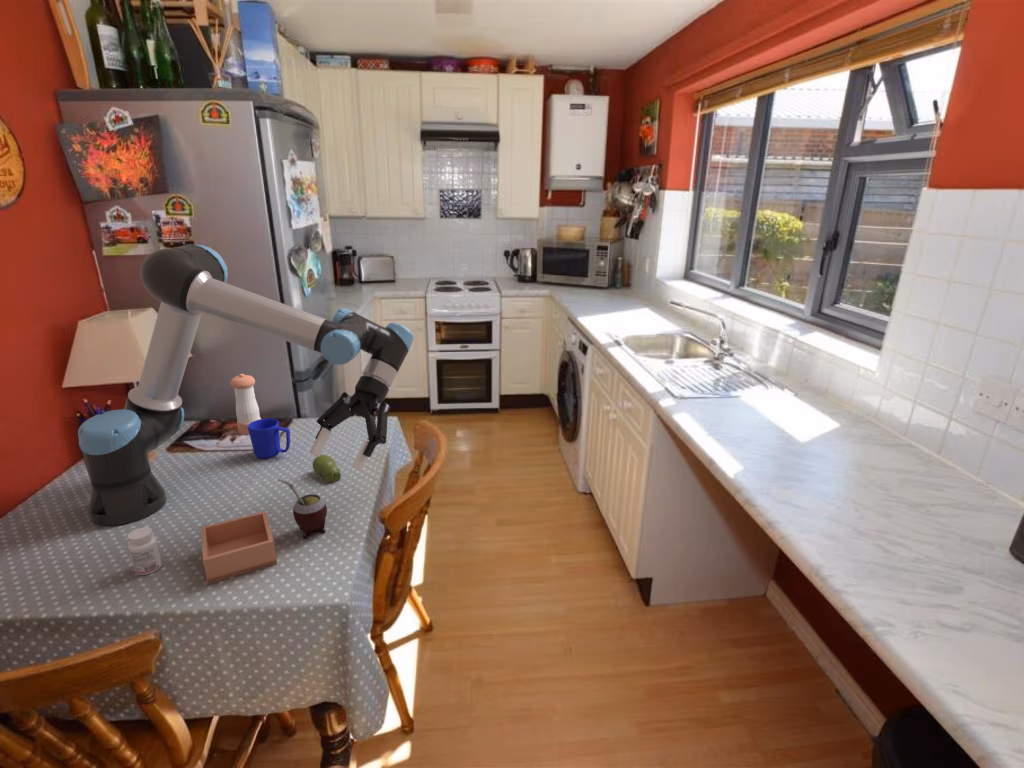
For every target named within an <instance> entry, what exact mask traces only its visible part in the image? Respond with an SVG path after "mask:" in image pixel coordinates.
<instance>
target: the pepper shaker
mask: <svg viewBox="0 0 1024 768" xmlns="http://www.w3.org/2000/svg"><path fill="white" fill-rule="evenodd" d="M255 384H256V380H255V377H254V376H252V375H248V374H244V373H239V374H238V375H236V376H234V377H233V378H231V381H230V384H229V385H230V387H232V388H233V389H234V390H233V391H234V397H235V414H236V419H237V421H236V426H237V427H236V429H237V432H238V434H240V435H249V431H248V425H249V424H250V423H251V422H253V421H256V420H260V419H262V417H261V415H260V408H259V405H258V401H257V399H256V395H255V388H254V386H255Z"/></svg>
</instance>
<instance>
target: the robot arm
mask: <svg viewBox="0 0 1024 768" xmlns="http://www.w3.org/2000/svg"><path fill="white" fill-rule="evenodd" d="M139 271H140V272H139V273H140V275H139V277H140V279H141V280H140V281H141V283H142V286H143V287H144V289H145V291H146V292H147V293H148V294H149V295H150V296H151V297H153V298H155V300H157V301H159V302H160V305H159V308H158V312H157V315H156V320H155V322H154V327H153V331H152V335H151V337H150V338H151V339H150V341H149V345H148V349H147V353H146V356H145V359H144V364H143V367H142V371H141V375H140V379H139V381H138V385H137V386H136V387H134V388H132V389H130V390H129V391H128V393H127V397H126V401H125V404H124V407H123V409H113V410H108V411H104V412H103V413H102V414H95V415H93V416H92V417H90V418H88V419H87V420H85V421H84V422H82V423H81V424H80V426H79V428H78V430H77V436H78V437H77V438H78V446H79V448H80V450H81V453H82V458H83V459H84V463H85V468H86V471H87V474H88V478H89V480H90V485H91V493H90V499H89V505H88V512H89V513H88V514H89V516H90V519H91V522H93V524H96V525H99V526H104V527H105V526H106V527H107V526H109V527H110V526H119V525H125V524H129V523H134V522H136V521H139V520H143V519H145V518H146V517H149V516H151V515H153V514H155V513H156V512H158V511H159V510H160V509H161V508H163V507H164V505H165V504H166V502H167V495H166V491H165V489H164V487H163V486H162V485H161V483H160V482H159V480H158V479H157V478H156V476H155V475H154V474H153V471H152V468H151V464H150V460H149V454H150V453H151V452H152V451H154V450H155V449H156V448H158V446H161V445H162V444H163V443H165V441H166V440H169V439H170V438H172V437H173V436H174V435H176V433H177V432H178V431H179V429H180V428H181V426H182V425H183V423H184V420H185V410H184V408H183V407H182V404H183V399H182V397H181V396H180V395H179V391H180V388H181V384H182V381H183V377H184V375H185V370H186V367H187V365H188V361H189V358H190V355H191V351H192V349H193V345H194V341H195V339H196V335H197V331H198V328H199V324H200V322H201V318H202V315H203V313H204V314H208V315H211V316H213V317H215V318H219V319H221V320H225V321H227V322H230V323H234V324H236V325H238V326H242V327H245V328H248V329H250V330H253V331H256V332H259V333H263V334H264V335H268V336H271V337H273V338H276V339H279V340H283V341H285V342H288V343H291V344H294V345H296V346H300V347H303V348H306V349H308V350H312V351H314V352H317V353H320V354H321V355H322V357H324V360H326V361H327V362H328V363H330V364H332V365H338V366H339V365H340V366H342V365H345V364H348V363H349V362H351V361H352V360H354V359H355V358H357V356H358V354H359V353H360V351H362V352H366V353H367V354H369V355H371V356H370V358H369V360H368V362H367V364H366V365H365V367H364V369H363V371H362V375H361V376H360V377H359V378H358V381H357V383H356V385H355V387H354V394H352V395H350V394H348V393H347V392H346V391H344V392H342V393H341V395H340V397H339V398H338V400H336V402H334V403H333V404H332V405H331V406H330V407H329V408H328V409H327V410H326V411H325V412H324V413H322V415H320V417H318V419H316V423H317V424H319V426H320V428H319V430H318V432H317V434H316V436H315V441H314V443H313V445H312V446H311V448H310V450H309V453H310V454H312V455H314V456H316V457H319V456H320V455H322V452H323V450H324V448H325V446H326V445H327V442H328V440H329V439H330V437H331V435H332V433H333V432H332V429H334V428H335V427H337V426H338V425H340V424H341V423H343V422H345V421H346V420H347V419H349V418H351V417H355V416H356V417H359V418H360V417H362V418H363V419H364V420H365V427H366V431H367V439H364V441H363V443H362V445H361V447H360V449H359V451H358V453H357V456H356V457H355V459H354V461H353V463H352V465H351V467H352V468H355V470H358V471H360V472H363V468H364V466H365V464H366V462H367V461H368V458H371V456H372V455H373V453H374V450H375V448H376V447H377V445H385V444H387V433H388V419H389V418H388V416H389V412H390V410H391V406H390V405H389V404H388V403H386V402H385V399H386V397H387V395H388V392H389V391H390V390H389V388H390V387H392V385H393V382H394V381H395V378H396V377H397V374H398V372H399V371H400V369H401V367H402V364H403V363H404V360H405V359H406V357H407V355H408V353H409V351H410V348H411V347H412V344H413V341H414V334H413V332H412V331H411V329H409V328H408V327H406V326H404V325H403V324H401V323H400V324H399V323H397V322H389V323H388V324H387V325H386V326H385V327H384V326H382V325H379V324H378V323H376V322H374V321H372V320H370V319H368V318H366V317H364V316H362V315H360V314H358V312H355V311H354V310H353V311H352V310H350V309H348V308H344V307H340V308H339V309H338V310H337V311H336V313H335V314H334V316H333V317H332V319H331V320H329V319H326V318H324V317H321V316H318V315H315V314H312V313H310V312H307V311H304V310H301V309H298V308H296V307H293V306H291V305H288V304H286V303H283V302H280V301H276V300H274V299H271V298H268V297H265V296H263V295H260V294H257V293H254V292H251V291H248V290H246V289H244V288H241V287H238V286H235V285H232V284H230V283H227V280H228V278H229V277H228V276H229V272H228V267H227V264H226V262H225V261H224V259H223V257H222V256H221V255H220V254H219V253H218V252H217V251H216V250H214V249H213V248H211V247H209V246H208V245H207V246H206V245H203V244H191V243H189V244H183V245H182V246H176V247H175V246H174V247H170V248H161V249H157V250H156V251H153V252H151V253H150V254H148V256H146V257H145V259H144V260H143V261H142V263H141V266H140V269H139ZM375 412H377V418H376V413H375Z"/></svg>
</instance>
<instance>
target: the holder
mask: <svg viewBox="0 0 1024 768" xmlns="http://www.w3.org/2000/svg"><path fill="white" fill-rule="evenodd" d="M200 530H201V531H200V532H201V547H202V548H201V549H202V550H201V551H202V562H203V568H204V573H205V576H206V582H207V585H211V584H213V583H217V582H219V581H222V580H223V581H224V580H227V579H230V578H233V577H236V576H240V575H243V574H247V573H251V572H254V571H257V570H260V569H265V568H267V567H270V566H275V565H277V564H278V561H277V554H276V553H277V552H276V547H275V541H274V538H273V534H272V529H271V526H270V522H269V519H268V514H267V512H266V510H265V511H260V512H257V513H253V514H249V515H245V516H241V517H237V518H233V519H228V520H224V521H221V522H215V523H212V524H209V525H204V526H202V527H200Z"/></svg>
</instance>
